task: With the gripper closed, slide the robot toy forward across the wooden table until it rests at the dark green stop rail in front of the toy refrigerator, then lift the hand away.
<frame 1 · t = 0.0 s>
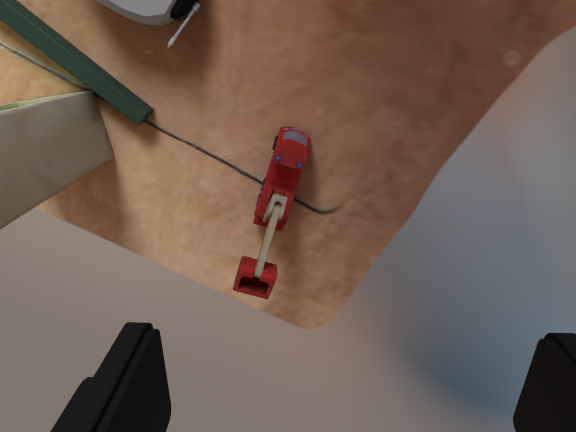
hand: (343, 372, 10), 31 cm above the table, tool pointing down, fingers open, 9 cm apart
toy refrigerator: (67, 124, 40), on the table
stop rail: (75, 56, 37), on the table
toy fire truck: (276, 189, 42), on the table
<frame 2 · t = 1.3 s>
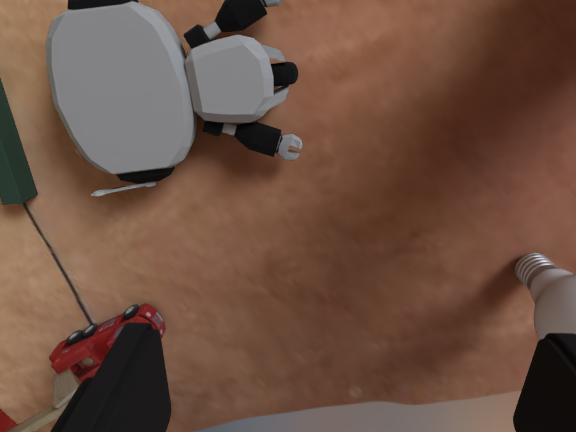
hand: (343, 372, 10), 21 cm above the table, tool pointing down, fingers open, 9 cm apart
lightbulb: (526, 261, 33), on the table
robot toy: (189, 82, 28), on the table
toy fire truck: (100, 336, 37), on the table
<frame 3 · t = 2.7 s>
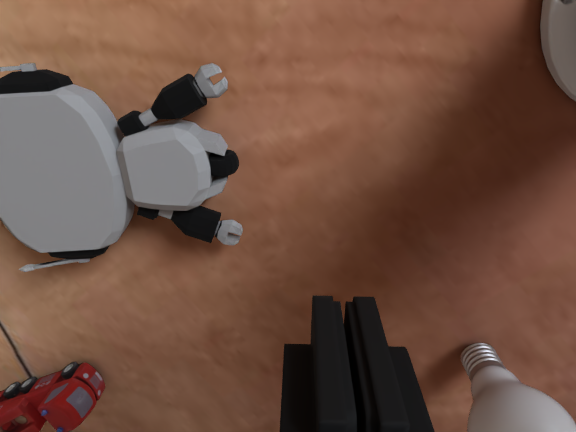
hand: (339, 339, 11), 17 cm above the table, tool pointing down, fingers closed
lightbulb: (473, 348, 33), on the table
robot toy: (131, 156, 27), on the table
toy fire truck: (40, 388, 36), on the table
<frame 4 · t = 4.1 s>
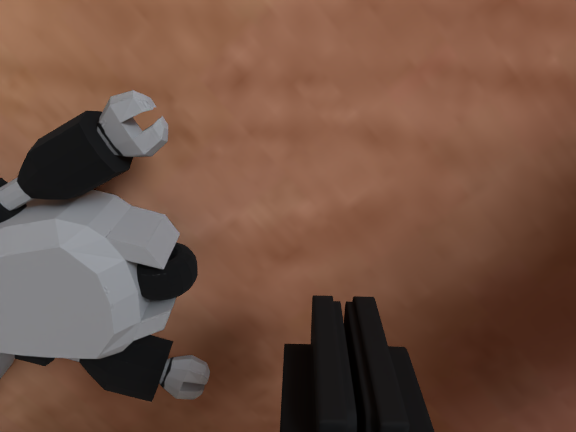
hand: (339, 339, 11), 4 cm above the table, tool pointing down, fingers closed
robot toy: (19, 241, 16), on the table
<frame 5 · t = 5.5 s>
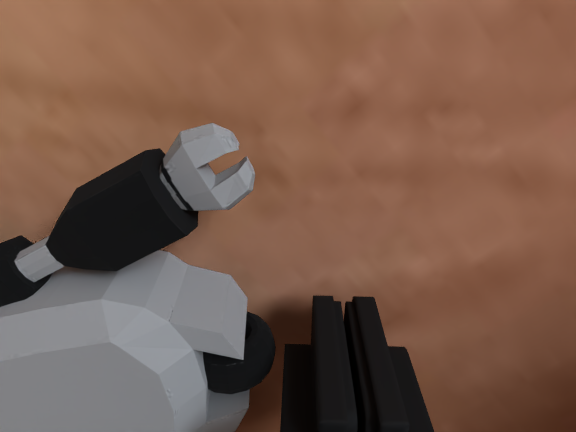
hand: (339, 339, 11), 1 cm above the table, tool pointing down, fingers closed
robot toy: (35, 300, 13), on the table, touching gripper
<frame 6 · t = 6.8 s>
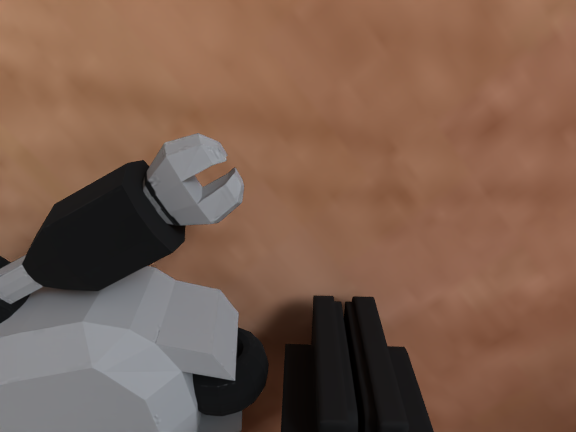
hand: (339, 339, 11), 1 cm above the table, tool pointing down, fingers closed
robot toy: (15, 320, 12), on the table, touching gripper
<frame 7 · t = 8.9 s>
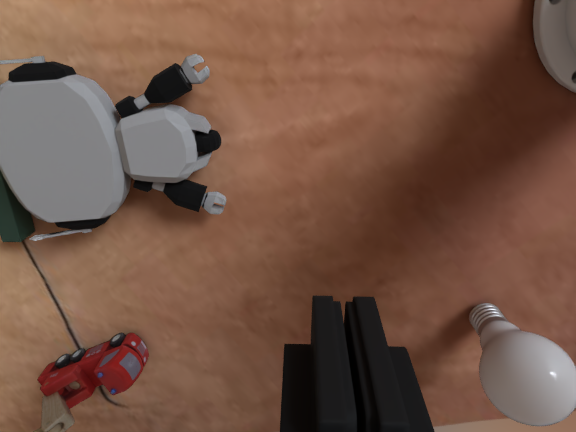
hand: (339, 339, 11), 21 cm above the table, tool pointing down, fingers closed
lightbulb: (480, 309, 37), on the table
robot toy: (126, 138, 31), on the table
toy fire truck: (86, 359, 40), on the table
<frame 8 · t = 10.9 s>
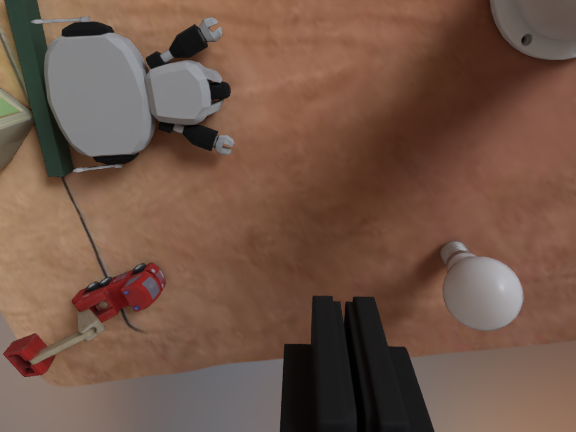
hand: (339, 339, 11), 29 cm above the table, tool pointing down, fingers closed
lightbulb: (450, 248, 43), on the table
stop rail: (47, 86, 37), on the table
robot toy: (152, 90, 37), on the table
toy fire truck: (112, 288, 46), on the table
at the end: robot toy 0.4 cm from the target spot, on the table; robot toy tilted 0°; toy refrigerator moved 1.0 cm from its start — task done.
